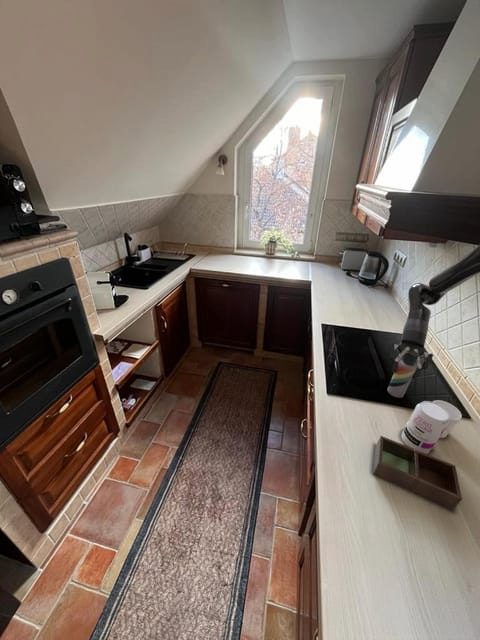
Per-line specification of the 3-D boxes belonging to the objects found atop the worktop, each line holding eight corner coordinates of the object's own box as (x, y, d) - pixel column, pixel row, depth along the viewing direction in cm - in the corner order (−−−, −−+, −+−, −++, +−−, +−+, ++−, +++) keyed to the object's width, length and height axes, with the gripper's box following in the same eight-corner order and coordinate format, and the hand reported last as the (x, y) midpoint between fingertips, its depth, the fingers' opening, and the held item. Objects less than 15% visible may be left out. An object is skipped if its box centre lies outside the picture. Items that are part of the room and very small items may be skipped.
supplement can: (429, 438, 82) (449, 406, 75) (431, 460, 76) (453, 427, 68) (401, 427, 86) (417, 395, 78) (400, 446, 79) (418, 414, 72)
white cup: (443, 445, 80) (457, 424, 75) (416, 428, 85) (427, 408, 80) (451, 432, 85) (465, 411, 80) (424, 416, 90) (436, 396, 85)
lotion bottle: (390, 386, 103) (407, 345, 93) (405, 394, 99) (425, 353, 89) (384, 392, 100) (401, 351, 90) (399, 401, 96) (419, 359, 86)
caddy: (446, 477, 71) (455, 465, 69) (451, 511, 64) (462, 499, 61) (375, 447, 79) (380, 435, 76) (372, 474, 72) (378, 462, 69)
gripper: (395, 324, 95) (384, 367, 92) (441, 335, 90) (431, 381, 86) (391, 330, 102) (380, 370, 99) (433, 340, 96) (424, 383, 93)
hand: (404, 375), depth 93 cm, fingers closed on lotion bottle, 5 cm apart
